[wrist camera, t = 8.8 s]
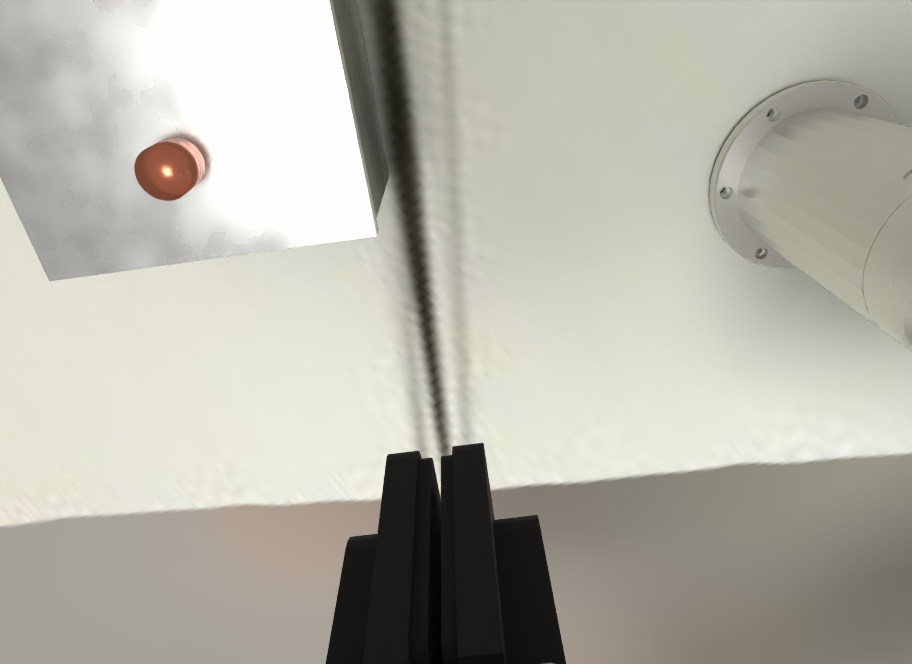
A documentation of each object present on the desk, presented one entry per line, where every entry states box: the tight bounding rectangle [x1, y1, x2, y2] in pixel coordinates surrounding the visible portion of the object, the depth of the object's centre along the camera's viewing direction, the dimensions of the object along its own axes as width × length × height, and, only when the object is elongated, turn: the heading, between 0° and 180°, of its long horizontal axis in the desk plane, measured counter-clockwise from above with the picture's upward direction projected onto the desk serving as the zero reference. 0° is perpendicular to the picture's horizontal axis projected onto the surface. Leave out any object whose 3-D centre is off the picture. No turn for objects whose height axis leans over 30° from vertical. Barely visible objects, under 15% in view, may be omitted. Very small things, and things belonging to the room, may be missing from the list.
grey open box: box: [332, 0, 389, 218], centre depth 35 cm, size 20×16×12 cm
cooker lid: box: [0, 0, 378, 281], centre depth 27 cm, size 17×21×3 cm
